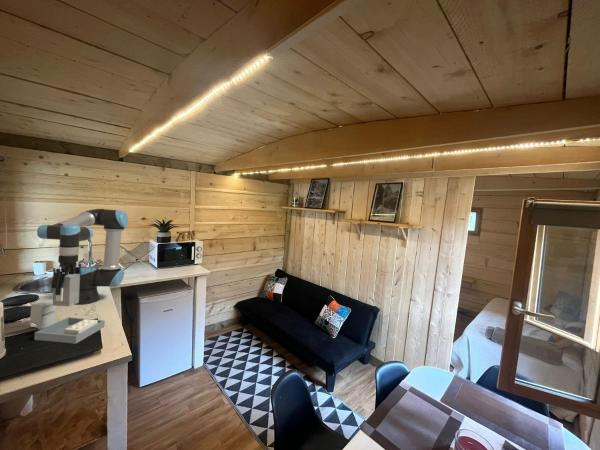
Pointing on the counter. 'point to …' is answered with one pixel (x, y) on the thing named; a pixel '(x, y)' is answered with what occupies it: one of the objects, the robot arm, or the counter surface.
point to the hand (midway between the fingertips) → (65, 298)
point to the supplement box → (43, 314)
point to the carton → (80, 326)
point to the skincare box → (69, 291)
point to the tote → (57, 334)
